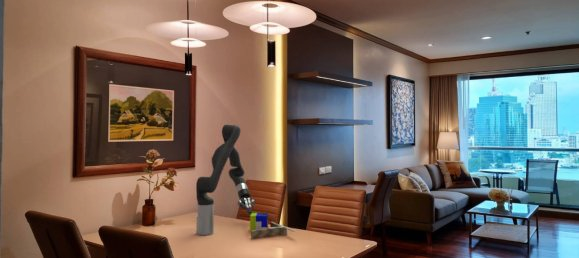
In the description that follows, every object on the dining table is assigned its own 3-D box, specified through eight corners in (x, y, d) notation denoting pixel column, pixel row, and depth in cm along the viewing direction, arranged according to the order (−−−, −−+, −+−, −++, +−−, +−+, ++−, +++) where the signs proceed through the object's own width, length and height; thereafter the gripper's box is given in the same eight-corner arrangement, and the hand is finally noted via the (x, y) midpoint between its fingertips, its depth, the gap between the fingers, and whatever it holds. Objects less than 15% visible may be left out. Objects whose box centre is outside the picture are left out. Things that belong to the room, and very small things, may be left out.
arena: (261, 244, 220) (261, 234, 220) (240, 232, 245) (240, 224, 245) (296, 239, 230) (296, 230, 230) (273, 228, 255) (273, 221, 255)
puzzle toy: (266, 232, 245) (266, 216, 245) (250, 232, 246) (250, 215, 246) (268, 229, 255) (268, 212, 255) (251, 228, 256) (252, 212, 256)
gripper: (235, 188, 268) (242, 210, 257) (253, 187, 274) (261, 208, 263) (232, 195, 272) (239, 217, 261) (250, 194, 279) (258, 215, 268)
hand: (250, 213), depth 262 cm, fingers closed
